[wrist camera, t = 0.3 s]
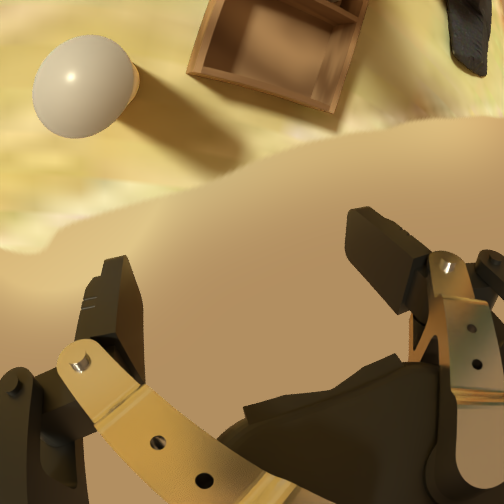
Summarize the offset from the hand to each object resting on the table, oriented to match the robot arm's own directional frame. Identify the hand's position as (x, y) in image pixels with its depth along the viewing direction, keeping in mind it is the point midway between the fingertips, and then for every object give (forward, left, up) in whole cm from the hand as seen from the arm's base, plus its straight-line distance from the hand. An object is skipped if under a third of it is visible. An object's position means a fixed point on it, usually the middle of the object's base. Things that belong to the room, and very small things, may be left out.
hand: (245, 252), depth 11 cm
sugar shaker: (-4, -8, -21) cm, 22 cm away
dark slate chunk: (-34, +34, -21) cm, 52 cm away
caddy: (-16, +5, -21) cm, 27 cm away
